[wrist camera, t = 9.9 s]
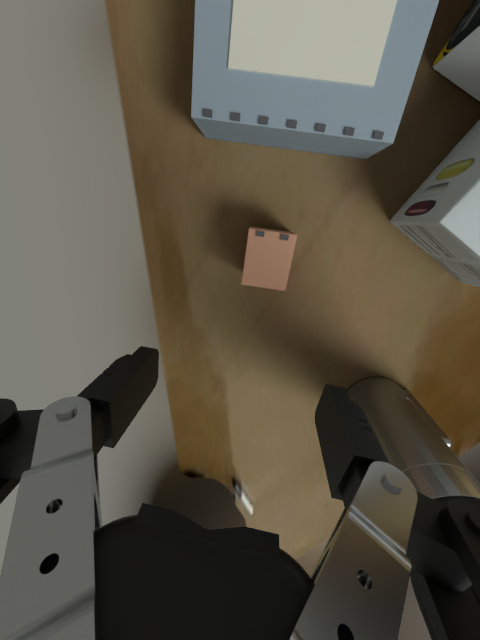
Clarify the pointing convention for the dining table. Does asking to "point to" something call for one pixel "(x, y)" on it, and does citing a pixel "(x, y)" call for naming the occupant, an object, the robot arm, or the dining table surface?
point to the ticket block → (307, 71)
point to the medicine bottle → (463, 53)
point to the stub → (268, 258)
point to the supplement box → (449, 211)
